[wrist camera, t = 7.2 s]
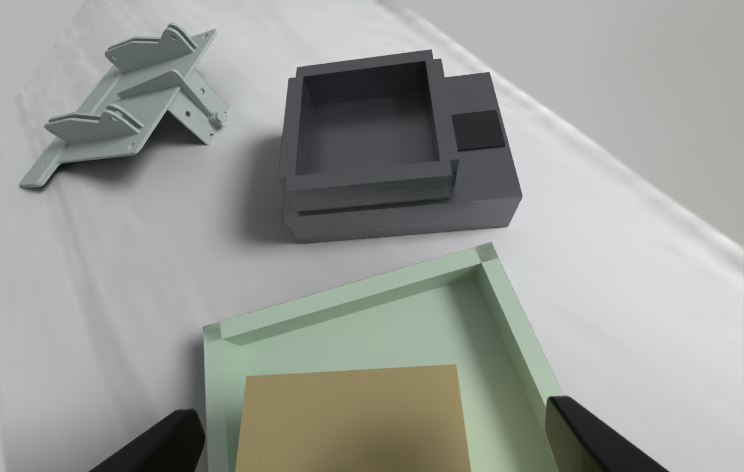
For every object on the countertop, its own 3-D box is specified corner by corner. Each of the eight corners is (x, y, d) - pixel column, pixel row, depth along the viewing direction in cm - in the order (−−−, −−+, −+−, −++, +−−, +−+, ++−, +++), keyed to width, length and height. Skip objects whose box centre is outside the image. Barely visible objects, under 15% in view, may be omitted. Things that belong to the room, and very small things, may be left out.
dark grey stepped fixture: (507, 226, 19) (535, 170, 14) (300, 243, 20) (266, 196, 15) (481, 111, 22) (496, 38, 18) (308, 131, 24) (282, 67, 19)
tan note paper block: (455, 516, 13) (501, 691, 5) (338, 518, 14) (211, 679, 6) (440, 386, 15) (456, 364, 7) (339, 391, 16) (246, 376, 8)
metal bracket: (218, -20, 23) (89, 158, 17) (272, 57, 28) (185, 218, 22) (103, 30, 30) (-19, 171, 24) (162, 85, 34) (72, 215, 28)
